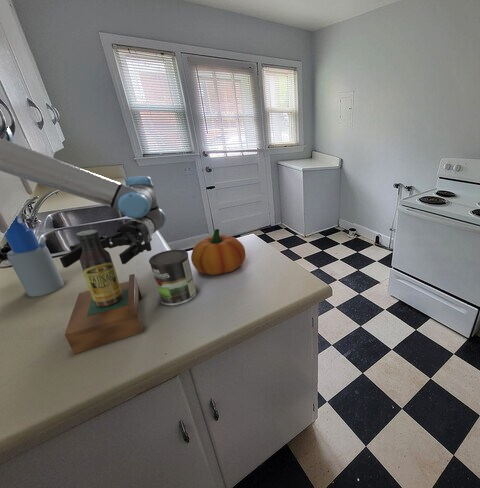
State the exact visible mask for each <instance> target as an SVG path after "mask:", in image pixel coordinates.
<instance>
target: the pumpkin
mask: <svg viewBox="0 0 480 488" xmlns="http://www.w3.org/2000/svg"><path fill="white" fill-rule="evenodd" d="M246 256H247V253H246V249H245V246H244V244H243V243H242V242H241V241H240V240H238V238H236V237H234V236H231V235H224V234H220V229H219V228H215V229H214V231H213V235H211V236H207V237H205V238H204V239H202V240H200V241H199V242H197V243H196V244H195V245H194V246H193V248H192V251H191V255H190V261H191V263H192V265H193V267H194V268H195V270H196V271H197V272H199V273H201V274H205V275H210V276H211V275H212V276H213V275H214V276H216V275H222V274H227V273H230V272H234V271H235V270H236V269H238V268H239V267H240V266H242V265H243V264H244V262H245V260H246Z"/></svg>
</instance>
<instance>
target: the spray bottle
mask: <svg viewBox="0 0 480 488" xmlns="http://www.w3.org/2000/svg"><path fill="white" fill-rule="evenodd" d="M15 216H16V218H15V220H14V221H13V223H12V224H11V226H10V228H9V229H8V230H7V232H6V231H5V232H6V233H5V232H4V233H5V235H4V234H3V236H4V237H5V240H6V242H7V244H8V245H9V247H10V249H11V250H9V251H8V252H7V253H6V257H7V260H8V261H9V263H10V265H11V267H12V268H13V270H14V272H15V274H16V276H17V279H18V280H19V282H20V284H21V285H22V288H23V289H24V291H25V293H26V294H27V296H28V297H41V296H45V295H48V294H52V293H54V292H57V291H58V290H60V289H62V288H63V286H64V285H65V283H64V280H63V279H62V277H61V274H60V272H59V269H58V268H57V266H56V263H55V261H54V259H53V257H52V254H51V252H50V250H49V248H48V247H47V246H46V245H45V244H43V243H39V241H38V239H37V237H36V235H35V232H34V230H33V228H31V227H27V224H26V223H25V222H24V221H23V219H22V217H21V216H20V215H15Z"/></svg>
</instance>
